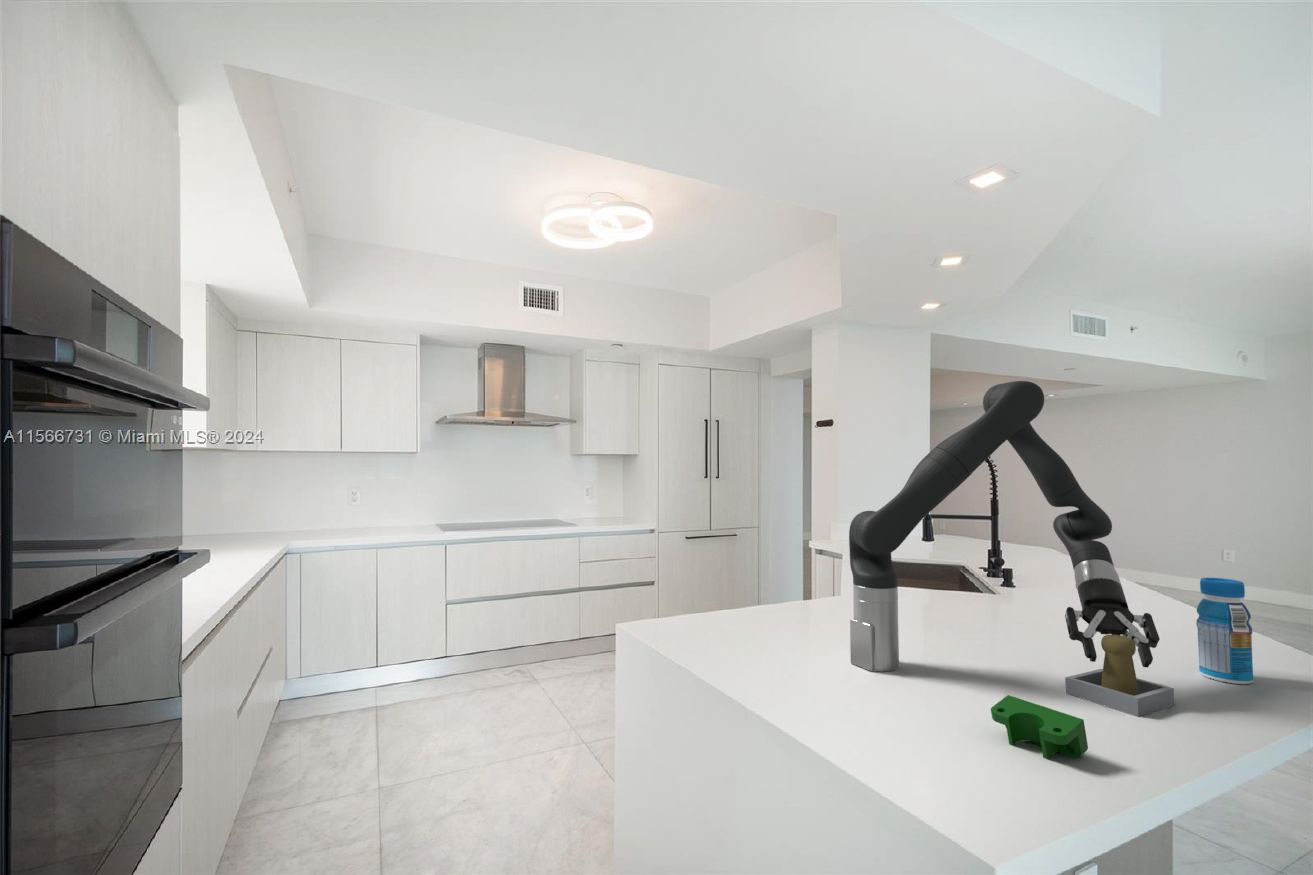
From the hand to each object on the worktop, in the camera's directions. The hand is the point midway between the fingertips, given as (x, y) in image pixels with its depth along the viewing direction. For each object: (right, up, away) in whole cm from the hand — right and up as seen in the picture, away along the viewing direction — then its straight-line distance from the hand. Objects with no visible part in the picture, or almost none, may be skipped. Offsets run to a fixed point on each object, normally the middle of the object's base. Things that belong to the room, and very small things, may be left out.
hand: (1120, 662), depth 112 cm
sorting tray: (+1, -7, +1) cm, 7 cm away
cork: (+1, -7, +1) cm, 7 cm away
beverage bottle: (+31, -8, +13) cm, 35 cm away
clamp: (-27, -6, -19) cm, 34 cm away
